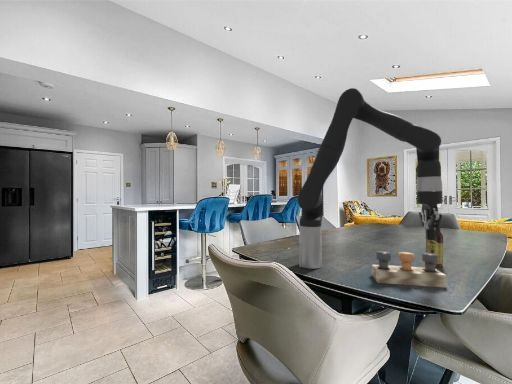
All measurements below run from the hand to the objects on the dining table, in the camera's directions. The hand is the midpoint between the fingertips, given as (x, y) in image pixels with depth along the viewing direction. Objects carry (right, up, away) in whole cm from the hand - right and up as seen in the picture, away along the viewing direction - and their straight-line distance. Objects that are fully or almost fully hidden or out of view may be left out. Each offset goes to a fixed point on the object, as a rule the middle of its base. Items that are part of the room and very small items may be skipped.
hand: (430, 239), depth 90 cm
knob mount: (-7, -15, +1) cm, 17 cm away
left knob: (-15, -12, +3) cm, 19 cm away
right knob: (0, -12, 0) cm, 12 cm away
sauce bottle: (+16, -15, +21) cm, 30 cm away
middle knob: (-7, -11, +1) cm, 14 cm away
